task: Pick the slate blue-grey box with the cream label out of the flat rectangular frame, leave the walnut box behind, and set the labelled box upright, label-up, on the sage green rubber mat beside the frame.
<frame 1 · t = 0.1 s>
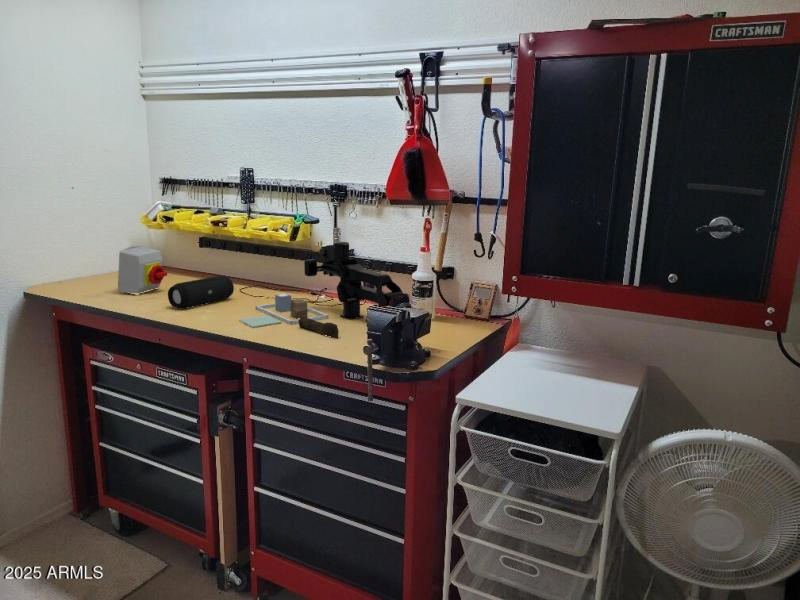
hand: (315, 263, 234), 17 cm above the workbench, tool horizontal, fingers open, 9 cm apart
flat rectangular frame: (291, 313, 222), on the workbench
plain box: (299, 317, 217), resting in flat rectangular frame
portable speaker: (202, 304, 235), on the workbench
electrical switch box: (145, 292, 253), on the workbench
hand tool: (321, 333, 198), on the workbench
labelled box: (283, 310, 226), resting in flat rectangular frame
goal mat: (260, 322, 209), on the workbench
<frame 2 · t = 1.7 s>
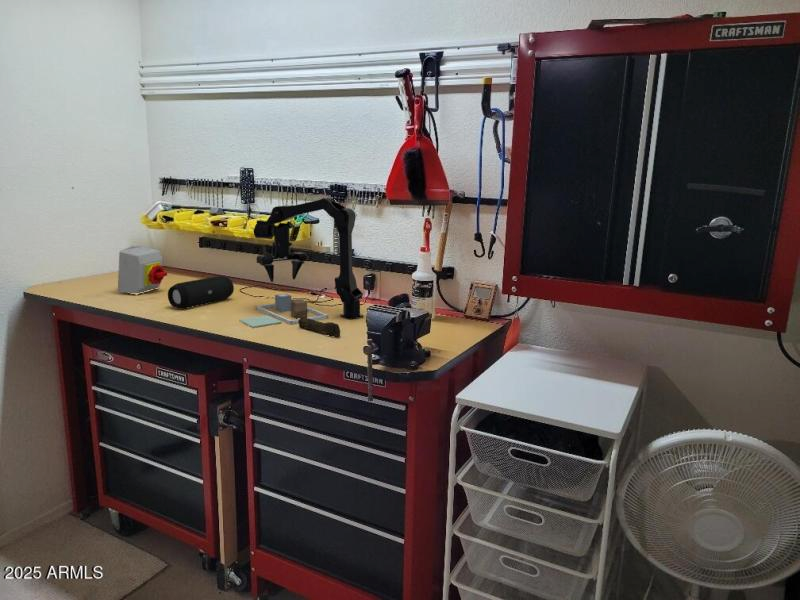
hand: (282, 280, 224), 12 cm above the workbench, tool pointing down, fingers open, 9 cm apart
nothing on the workbench moved.
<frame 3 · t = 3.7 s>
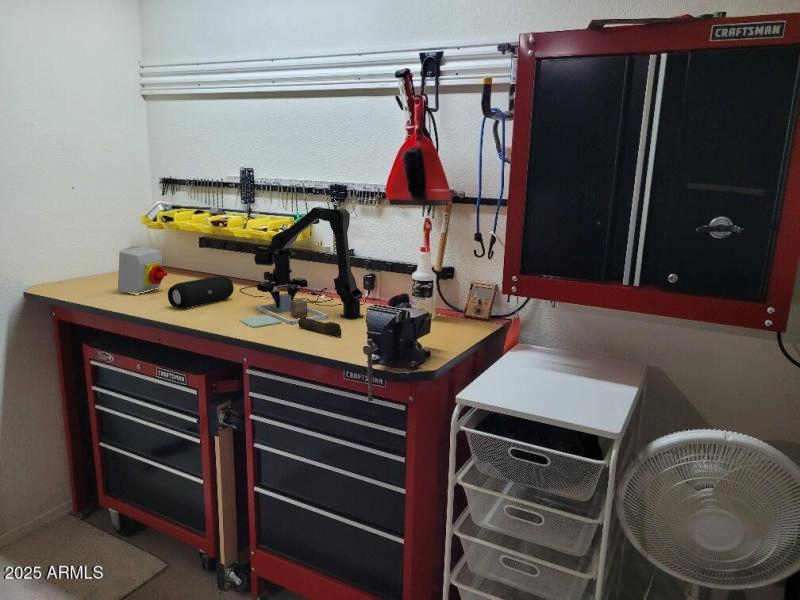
hand: (283, 306, 226), 1 cm above the workbench, tool pointing down, fingers closed on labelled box, 4 cm apart
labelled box: (283, 310, 226), resting in flat rectangular frame, touching gripper
everything else where it was.
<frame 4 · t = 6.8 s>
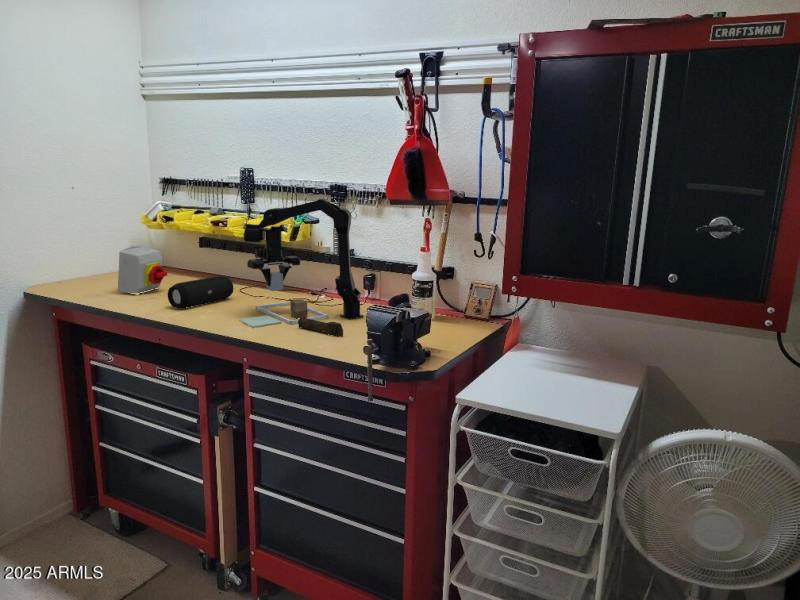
hand: (274, 285, 218), 11 cm above the workbench, tool pointing down, fingers closed on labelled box, 4 cm apart
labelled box: (274, 289, 218), point 10 cm above the workbench, touching gripper
when the fingers open (3 cm above the workbench, at t = 9.9 s): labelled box drops 1 cm, resting on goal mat.
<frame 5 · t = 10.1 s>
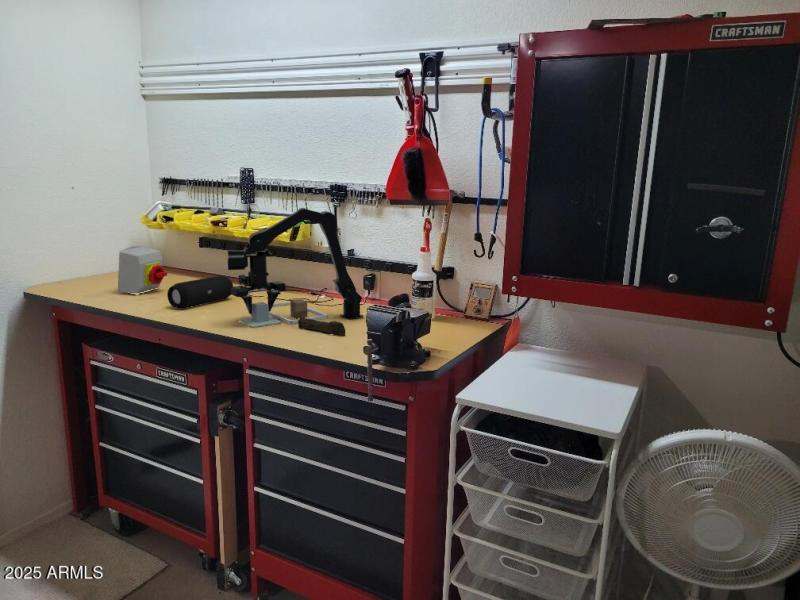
hand: (260, 312, 208), 3 cm above the workbench, tool pointing down, fingers open, 7 cm apart
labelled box: (260, 320, 209), point 1 cm above the workbench, touching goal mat
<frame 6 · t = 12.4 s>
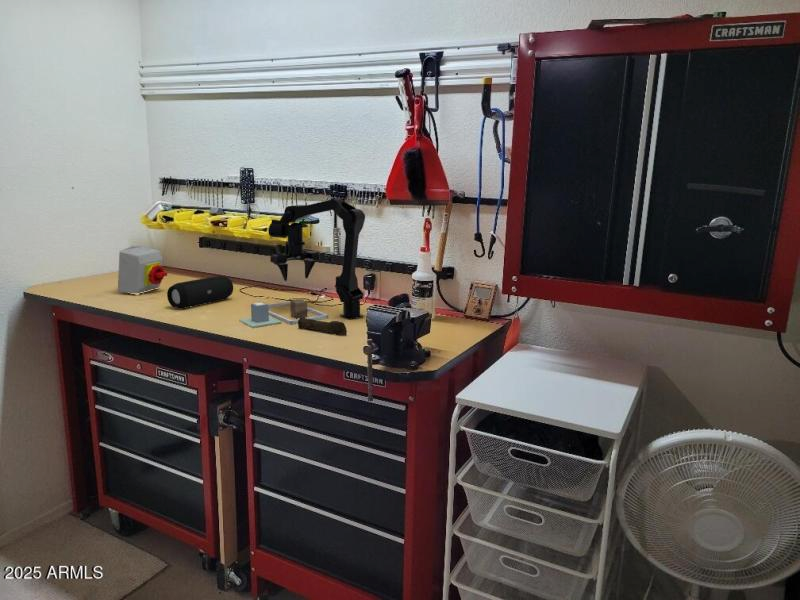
hand: (296, 279, 226), 12 cm above the workbench, tool pointing down, fingers open, 9 cm apart
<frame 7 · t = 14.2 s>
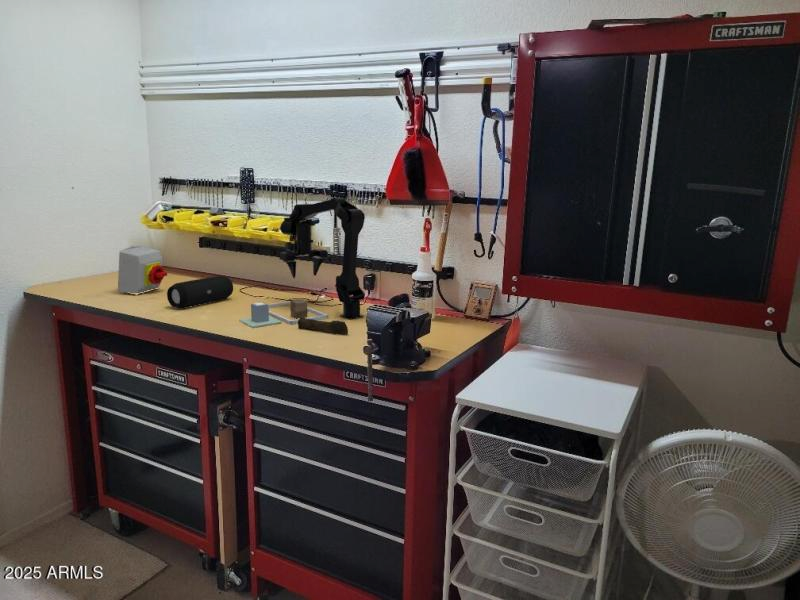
hand: (304, 276, 231), 12 cm above the workbench, tool pointing down, fingers open, 9 cm apart
at the end: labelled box inside the target area (0.0 cm from its centre), point 0.6 cm above the workbench; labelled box tilted 0°; the gripper is holding nothing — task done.
